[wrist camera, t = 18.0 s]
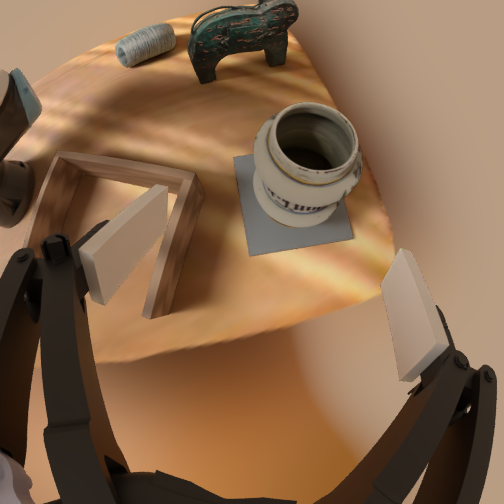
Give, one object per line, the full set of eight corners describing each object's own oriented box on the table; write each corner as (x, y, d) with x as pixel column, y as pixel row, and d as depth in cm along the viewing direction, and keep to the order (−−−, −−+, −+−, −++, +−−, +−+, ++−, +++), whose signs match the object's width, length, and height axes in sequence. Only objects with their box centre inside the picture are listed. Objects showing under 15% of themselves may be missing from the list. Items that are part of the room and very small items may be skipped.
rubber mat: (233, 158, 42) (233, 157, 42) (327, 147, 43) (328, 146, 42) (249, 256, 40) (249, 256, 40) (352, 239, 40) (353, 238, 40)
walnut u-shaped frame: (169, 314, 39) (150, 319, 31) (47, 264, 40) (19, 259, 32) (205, 193, 42) (195, 172, 34) (80, 167, 43) (57, 150, 35)
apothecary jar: (249, 164, 42) (246, 89, 24) (323, 159, 42) (358, 89, 24) (257, 239, 40) (261, 199, 22) (337, 232, 40) (391, 191, 22)
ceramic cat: (283, 51, 46) (292, -23, 26) (296, 69, 45) (310, -9, 26) (192, 73, 45) (172, -4, 26) (200, 92, 45) (179, 11, 25)
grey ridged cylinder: (115, 73, 42) (111, 32, 34) (119, 65, 48) (116, 30, 40) (177, 63, 46) (178, 22, 38) (174, 56, 51) (174, 20, 43)
